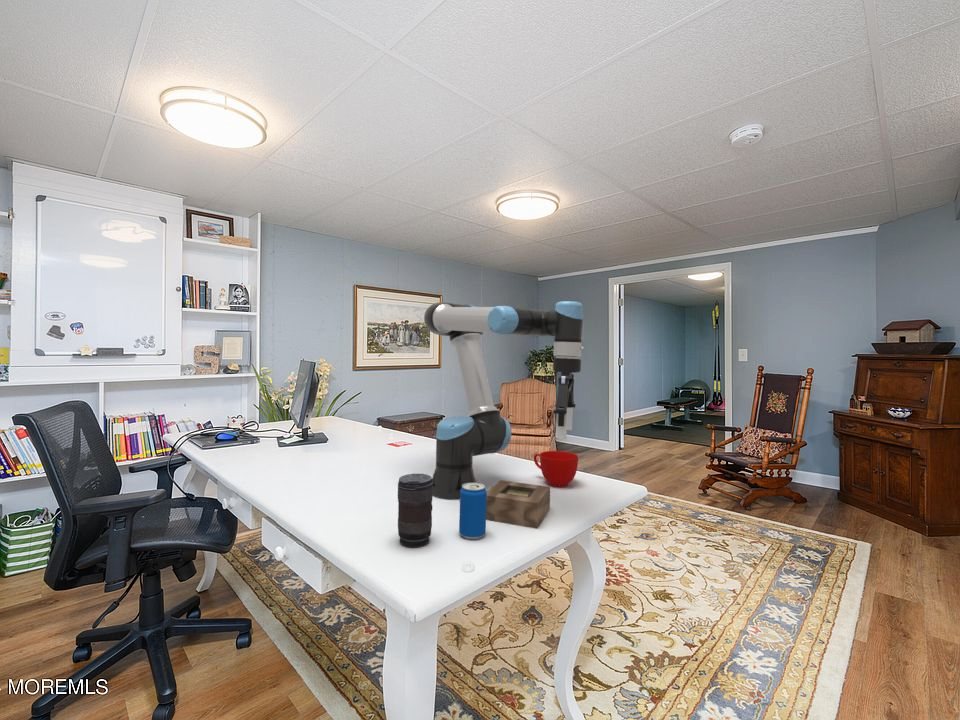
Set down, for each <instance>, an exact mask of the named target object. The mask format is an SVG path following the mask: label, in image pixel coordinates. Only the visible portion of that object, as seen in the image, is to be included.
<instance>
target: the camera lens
mask: <svg viewBox="0 0 960 720" xmlns="http://www.w3.org/2000/svg"><path fill="white" fill-rule="evenodd" d="M432 477H433V476H431V475H430V474H427V473H408V474H405V475H404V474H403V475H402V476H400V477H398V482H397V502H398V507H397V510H398V511H397V529H398V530H397V531H398V537H399V542H400V544H401V545H402V546H404V547H406V548H420V547H423V546H426V545H427V544H429V541H430V536H431V534H432V526H433V515H432V513H433V497H434V495H433V482H432Z"/></svg>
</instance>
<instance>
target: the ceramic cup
mask: <svg viewBox="0 0 960 720" xmlns="http://www.w3.org/2000/svg"><path fill="white" fill-rule="evenodd" d="M537 457H539V462H538V460H537ZM533 462H534V464H535V466H536V467H537V468H538V469H540V471H541V473H542V477H543V478H544V479H545V481H546V482H547V483H548V485H549V486H552V487H555V488H556V487H558V488H559V487H560V488H565V487H568V486H569V484H570V483H572V481H573V480H574V478H575V477H576V474H577V471H578V465H579V455H577V454H576V453H573V452H569V451H561V450H548V451H547V450H546V451H542V452H540V453H536V454H534V455H533ZM539 463H540V464H539Z"/></svg>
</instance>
